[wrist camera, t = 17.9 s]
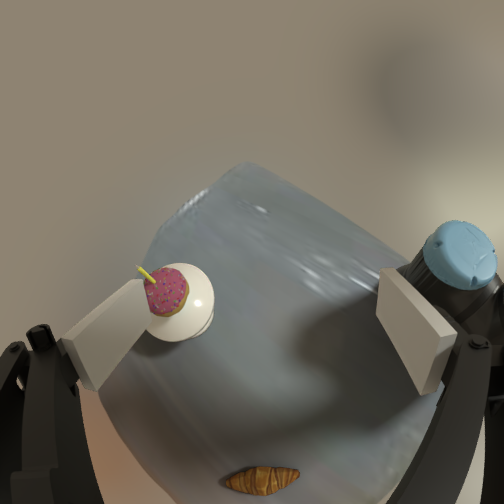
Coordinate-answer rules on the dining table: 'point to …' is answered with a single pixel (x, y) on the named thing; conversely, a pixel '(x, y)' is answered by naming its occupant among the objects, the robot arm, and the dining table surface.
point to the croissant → (262, 480)
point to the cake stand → (187, 309)
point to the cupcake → (165, 291)
